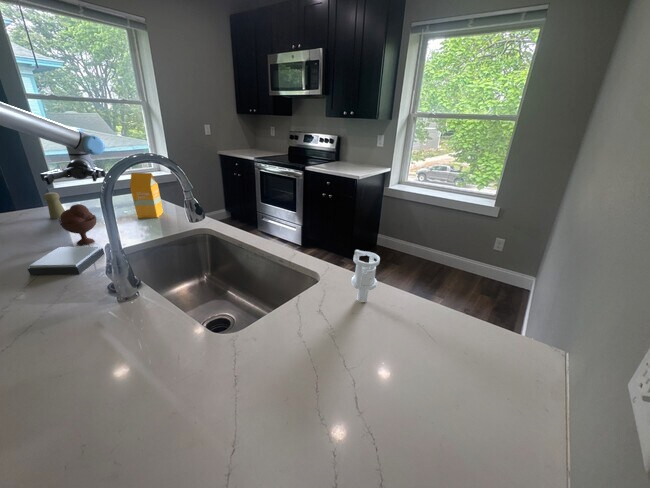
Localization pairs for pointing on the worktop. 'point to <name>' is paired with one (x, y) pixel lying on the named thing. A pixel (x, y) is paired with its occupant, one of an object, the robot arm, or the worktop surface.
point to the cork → (54, 205)
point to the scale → (66, 261)
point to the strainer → (364, 274)
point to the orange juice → (146, 195)
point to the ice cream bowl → (78, 222)
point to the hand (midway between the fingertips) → (71, 179)
